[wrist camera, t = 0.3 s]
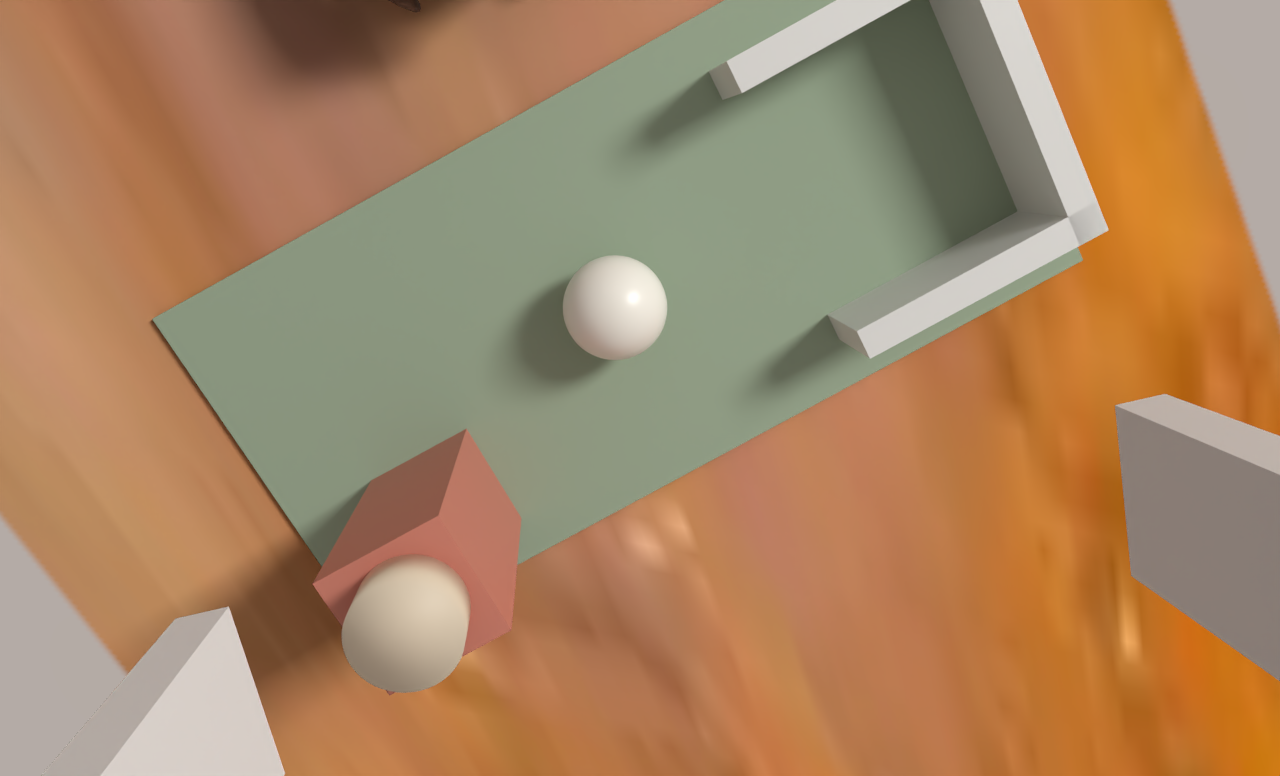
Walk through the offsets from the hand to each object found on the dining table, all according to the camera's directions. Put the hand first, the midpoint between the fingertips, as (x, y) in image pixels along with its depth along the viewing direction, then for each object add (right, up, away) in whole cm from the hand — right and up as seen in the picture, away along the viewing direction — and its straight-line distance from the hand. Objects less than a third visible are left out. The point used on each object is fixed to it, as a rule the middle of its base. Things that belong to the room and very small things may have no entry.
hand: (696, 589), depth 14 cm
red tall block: (-9, -2, +26) cm, 28 cm away
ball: (-2, +6, +23) cm, 24 cm away
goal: (+9, +12, +24) cm, 29 cm away
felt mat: (-1, +7, +25) cm, 26 cm away
